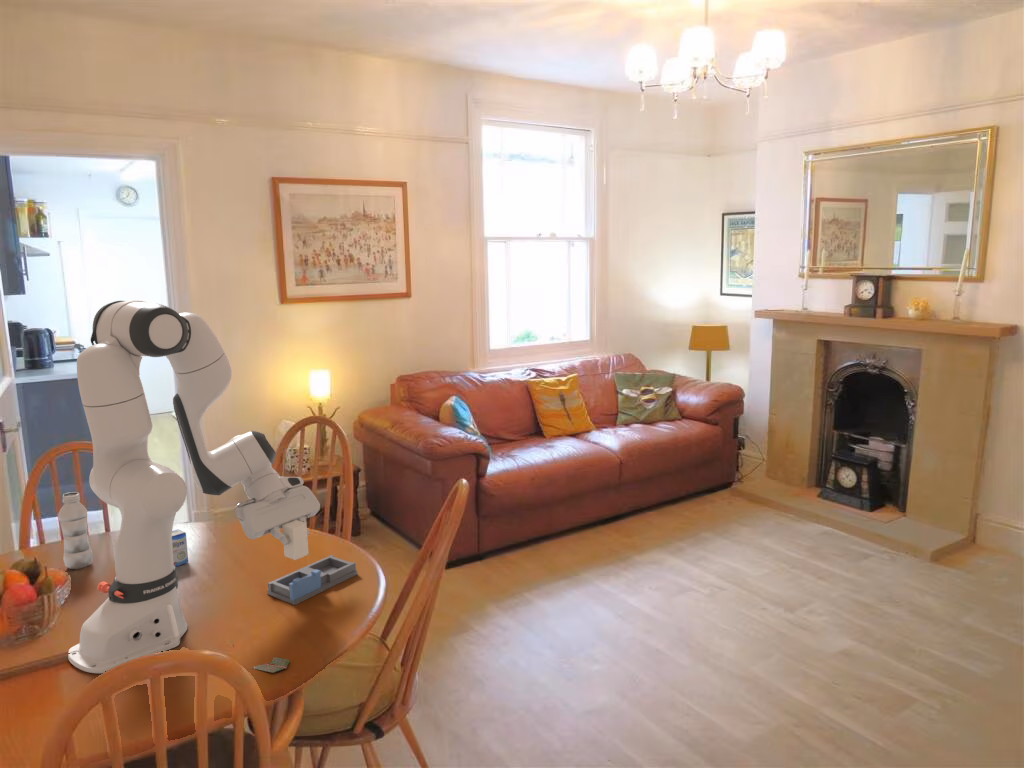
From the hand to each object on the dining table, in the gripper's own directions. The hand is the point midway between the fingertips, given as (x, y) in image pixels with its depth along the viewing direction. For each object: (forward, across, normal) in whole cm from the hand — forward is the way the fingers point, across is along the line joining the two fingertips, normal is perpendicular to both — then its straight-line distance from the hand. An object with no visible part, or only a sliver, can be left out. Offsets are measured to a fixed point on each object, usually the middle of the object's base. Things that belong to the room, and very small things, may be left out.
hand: (297, 539), depth 171 cm
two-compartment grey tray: (+9, +4, +10) cm, 14 cm away
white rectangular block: (+2, 0, +3) cm, 4 cm away
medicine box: (-19, -10, +38) cm, 44 cm away
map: (+20, -25, -1) cm, 32 cm away
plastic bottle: (-33, -24, +52) cm, 65 cm away
